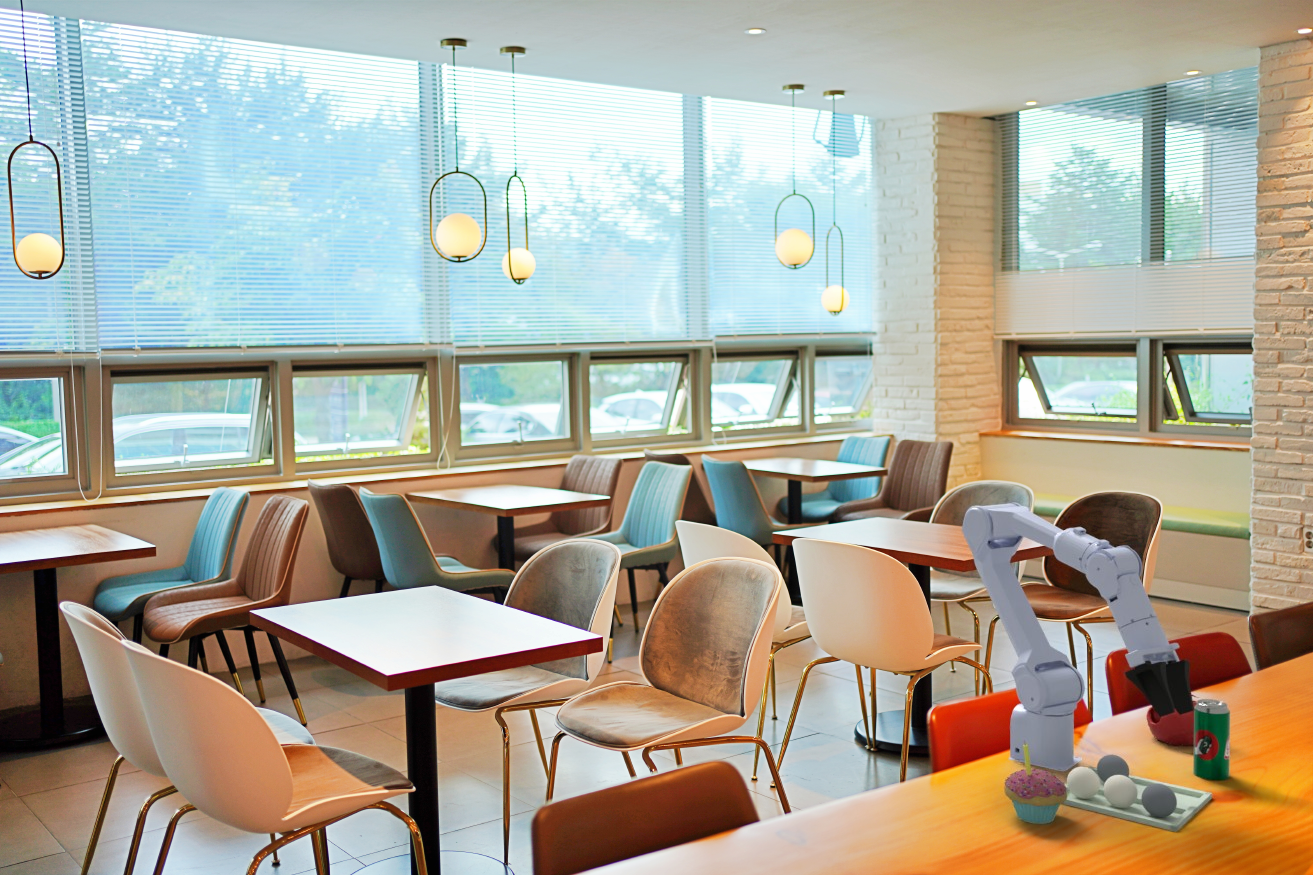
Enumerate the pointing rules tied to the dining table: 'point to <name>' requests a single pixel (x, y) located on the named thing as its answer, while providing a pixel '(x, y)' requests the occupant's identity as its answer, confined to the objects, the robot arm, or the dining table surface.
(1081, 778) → the cream ball left
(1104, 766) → the charcoal ball back
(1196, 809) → the rack
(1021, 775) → the cupcake
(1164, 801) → the charcoal ball front
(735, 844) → the dining table surface
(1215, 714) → the soda can
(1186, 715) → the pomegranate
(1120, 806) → the cream ball middle
